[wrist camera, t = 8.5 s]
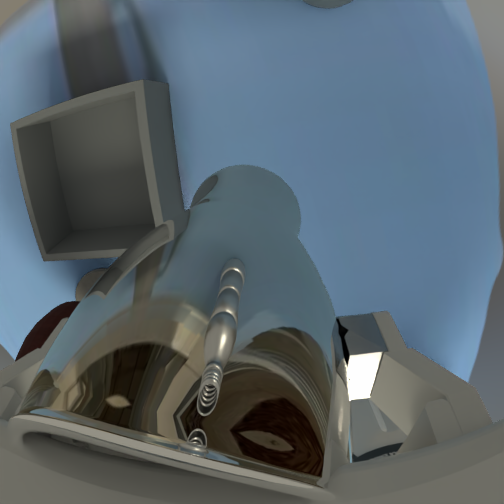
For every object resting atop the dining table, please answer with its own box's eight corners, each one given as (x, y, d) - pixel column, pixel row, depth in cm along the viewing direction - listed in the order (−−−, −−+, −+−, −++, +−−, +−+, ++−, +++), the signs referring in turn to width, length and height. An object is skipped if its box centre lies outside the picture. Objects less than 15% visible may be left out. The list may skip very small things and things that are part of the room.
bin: (168, 83, 26) (143, 79, 20) (186, 224, 33) (169, 254, 27) (49, 115, 27) (10, 123, 21) (73, 234, 34) (43, 261, 28)
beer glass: (175, 162, 16) (-63, 362, 3) (306, 152, 15) (444, 428, 2) (194, 274, 19) (98, 517, 6) (308, 270, 18) (337, 545, 5)
